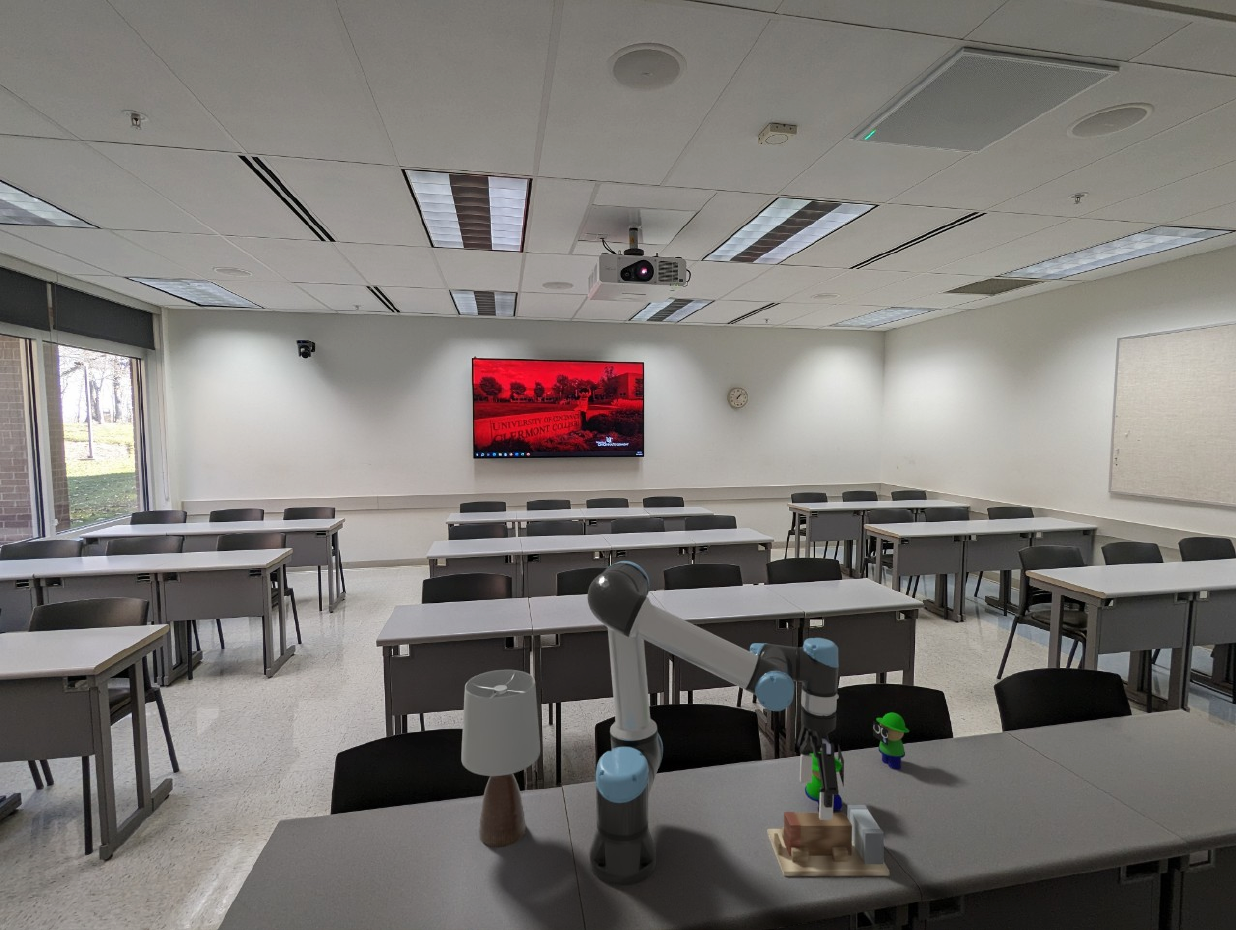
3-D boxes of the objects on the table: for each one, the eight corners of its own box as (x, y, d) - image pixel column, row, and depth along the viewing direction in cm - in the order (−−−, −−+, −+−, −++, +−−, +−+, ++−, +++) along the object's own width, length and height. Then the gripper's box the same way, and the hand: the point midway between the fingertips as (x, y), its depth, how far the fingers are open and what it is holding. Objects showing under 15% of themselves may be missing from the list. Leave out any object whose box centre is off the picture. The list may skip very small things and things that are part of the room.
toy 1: (844, 820, 148) (845, 762, 147) (805, 815, 150) (806, 757, 149) (837, 794, 159) (838, 739, 158) (801, 790, 160) (801, 736, 160)
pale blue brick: (864, 864, 131) (865, 833, 131) (847, 834, 141) (847, 805, 141) (883, 864, 131) (883, 833, 131) (864, 833, 141) (864, 804, 141)
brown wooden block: (789, 856, 134) (790, 825, 133) (783, 842, 138) (784, 812, 138) (851, 855, 134) (852, 824, 133) (843, 841, 138) (844, 811, 138)
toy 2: (868, 758, 176) (869, 709, 175) (892, 753, 179) (893, 704, 178) (890, 774, 168) (891, 722, 167) (915, 769, 170) (916, 718, 170)
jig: (783, 876, 129) (784, 860, 129) (767, 833, 143) (767, 818, 143) (889, 876, 129) (889, 859, 129) (862, 833, 143) (862, 818, 143)
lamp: (552, 815, 150) (551, 672, 148) (521, 866, 132) (519, 704, 131) (486, 803, 155) (484, 664, 153) (447, 851, 137) (444, 695, 136)
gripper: (857, 737, 122) (853, 836, 123) (816, 685, 147) (813, 768, 148) (821, 736, 122) (817, 836, 123) (786, 684, 147) (783, 768, 148)
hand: (815, 799), depth 136 cm, fingers open, 13 cm apart
